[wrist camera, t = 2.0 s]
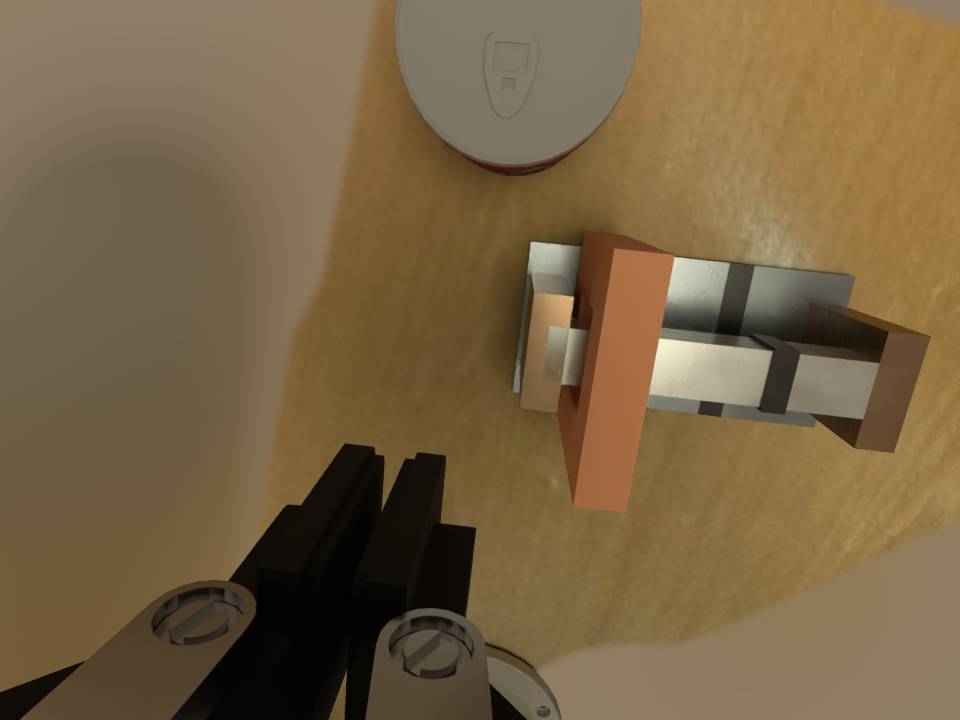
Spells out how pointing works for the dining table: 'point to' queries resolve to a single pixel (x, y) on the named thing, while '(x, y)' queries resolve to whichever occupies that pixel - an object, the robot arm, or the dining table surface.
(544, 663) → the dining table surface
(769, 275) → the stand
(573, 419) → the collar
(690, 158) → the dining table surface
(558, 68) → the canned food
